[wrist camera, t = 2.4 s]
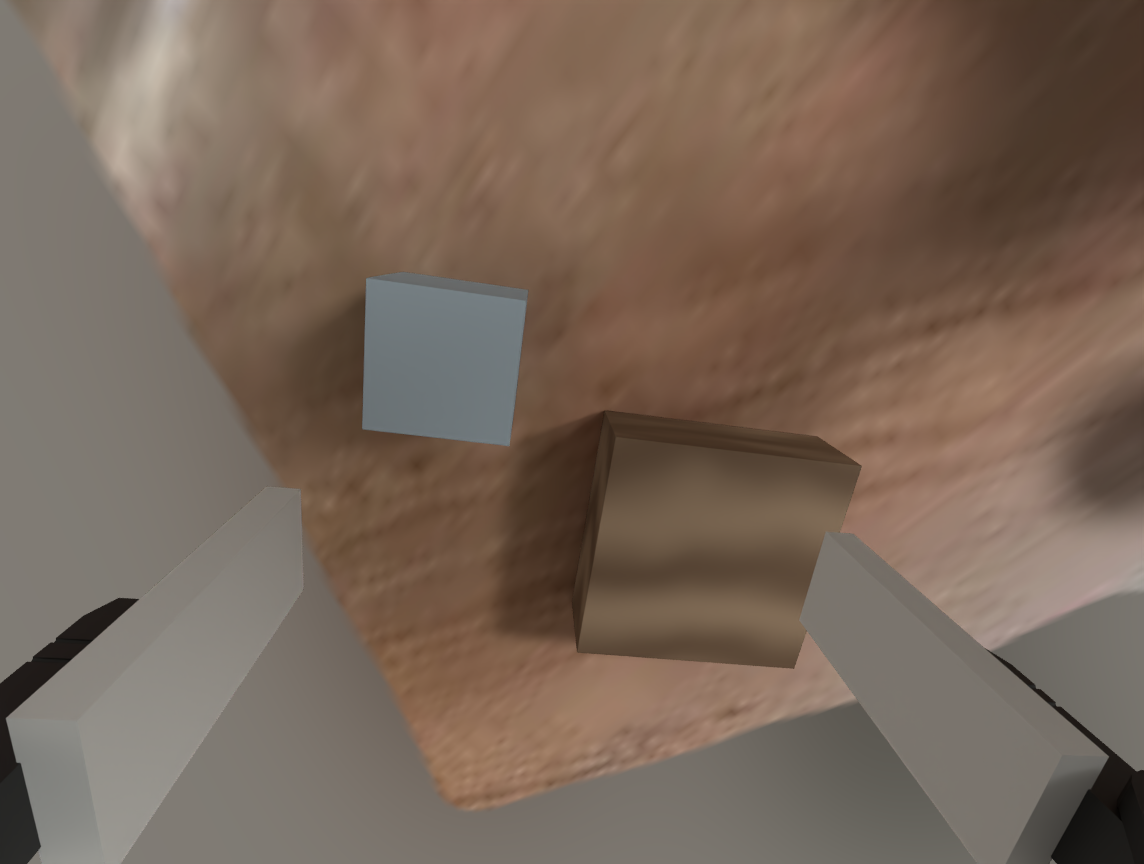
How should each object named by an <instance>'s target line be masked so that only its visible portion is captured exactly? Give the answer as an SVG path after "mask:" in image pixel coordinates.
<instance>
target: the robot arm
mask: <svg viewBox="0 0 1144 864" xmlns="http://www.w3.org/2000/svg"><path fill="white" fill-rule="evenodd" d="M303 590H304V583H303V548H302V513H301V489H295V488H282V487H270V486H266V487H265V488H264V489H263V490H262V491H261V492H259V493H258V494H257V495H256V496H255V497H254V498H253V499H252V500H250V501H249V502H248V503H247V504H246V505H245V506H244V507H243V508H241V509H240V510H239V511H238V512H237V513H236V514H235V515H234V516H232V517H231V518H230V519H229V520H228V521H227V522H226V523H225V524H223V525H222V526H221V527H220V528H219V529H218V530H217V531H216V532H214V533H213V534H212V535H211V536H210V537H209V538H208V539H207V540H205V541H204V542H203V543H202V544H201V545H200V546H199V547H198V548H197V549H195V550H194V551H193V552H192V553H191V554H190V555H189V556H188V557H187V558H185V560H183V561H182V562H181V563H180V564H179V565H177V566H176V567H175V568H174V569H173V570H172V571H171V572H170V573H169V574H167V575H166V576H165V577H164V578H163V579H162V580H161V581H159V582H158V583H157V584H156V585H155V586H154V587H153V588H152V589H151V590H149V591H148V592H147V593H146V594H145V595H144V596H143V597H141V598H140V599H128V598H118V599H116V600H114V601H112V602H110V603H108V604H106V605H104V606H102V607H100V608H98V609H96V610H94V611H92V612H90V613H88V614H86V615H84V616H83V617H81V618H80V619H79V620H78V621H76V622H75V623H74V624H73V625H71V626H70V627H69V628H68V629H67V630H65V631H64V632H63V633H62V634H60V635H59V636H58V637H57V638H56V641H55V642H54V643H50V644H48V645H47V646H46V647H45V648H43V649H42V650H41V651H40V652H38V653H37V654H36V655H35V656H33V660H32V661H31V662H26V663H25V664H24V665H22V666H21V667H20V668H19V669H17V670H16V671H15V672H14V673H13V674H11V675H10V676H9V677H8V678H6V679H5V680H4V681H3V682H2V683H0V864H27V863H28V862H29V861H30V860H31V858H32V857H33V856H34V855H35V854H36V852H37V851H39V856H40V860H41V863H42V864H121V862H122V860H123V859H124V857H125V856H126V854H127V853H128V852H129V850H130V848H131V847H132V846H133V844H134V843H135V841H136V840H137V838H138V837H139V835H140V834H141V832H142V831H143V829H144V828H145V826H146V824H147V823H148V822H149V820H150V818H151V817H152V816H153V814H154V813H155V811H156V810H157V808H158V807H159V805H160V804H161V802H162V801H163V799H164V798H165V796H166V795H167V793H168V792H169V790H170V789H171V787H172V786H173V784H174V783H175V781H176V780H177V778H178V777H179V775H180V774H181V772H182V771H183V769H184V768H185V766H186V765H187V763H188V762H189V760H190V759H191V757H192V756H193V754H194V753H195V751H196V750H197V748H198V747H199V745H200V744H201V742H202V741H203V739H204V738H205V736H206V735H207V734H208V732H209V731H210V729H211V727H212V726H213V724H214V723H215V721H216V720H217V718H218V717H219V716H220V714H221V713H222V711H223V709H224V708H225V707H226V705H227V704H228V702H229V701H230V699H231V698H232V696H233V695H234V693H235V692H236V690H237V689H238V687H239V686H240V684H241V683H242V681H243V680H244V678H245V677H246V675H247V674H248V672H249V671H250V669H251V668H252V666H253V665H254V663H255V662H256V660H257V659H258V657H259V656H260V654H261V653H262V651H263V650H264V648H265V647H266V645H267V644H268V642H269V641H270V639H271V638H272V636H273V635H274V633H275V632H276V630H277V629H278V627H279V626H280V624H281V623H282V621H283V620H284V618H285V617H286V615H287V614H288V612H289V611H290V609H291V608H292V606H293V605H294V603H295V602H296V600H297V599H298V597H299V596H300V594H301V593H302V591H303ZM799 621H800V622H801V623H802V625H803V626H804V628H805V629H806V630H807V632H808V633H809V634H810V636H811V637H812V638H813V640H814V641H815V643H816V644H817V645H818V647H819V648H820V649H821V651H822V652H823V653H824V655H825V656H826V658H827V659H828V660H829V662H830V663H831V664H832V666H833V667H834V668H835V670H836V671H837V673H838V674H839V675H840V677H841V678H842V679H843V681H844V682H845V684H846V685H847V686H848V688H849V689H850V690H851V692H852V693H853V694H854V696H855V697H856V699H857V700H858V701H859V703H860V704H861V705H862V707H863V708H864V709H865V711H866V712H867V714H868V715H869V716H870V718H871V719H872V720H873V722H874V723H875V725H876V726H877V727H878V729H879V730H880V731H881V733H882V734H883V735H884V737H885V738H886V740H887V741H888V742H889V743H890V745H891V746H892V748H893V749H894V750H895V752H896V753H897V755H898V756H899V757H900V759H901V760H902V761H903V763H904V764H905V766H906V767H907V768H908V770H909V771H910V772H911V774H912V775H913V776H914V778H915V779H916V781H917V782H918V783H919V784H920V786H921V787H922V789H923V790H924V791H925V793H926V794H927V795H928V797H929V798H930V799H931V801H932V802H933V804H934V805H935V806H936V808H937V809H938V811H939V812H940V813H941V815H942V816H943V817H944V819H945V820H946V821H947V823H948V824H949V826H950V827H951V828H952V830H953V831H954V832H955V834H956V835H957V837H959V839H960V841H961V842H962V843H963V845H964V846H965V847H966V849H967V850H968V851H969V853H970V854H971V855H972V857H973V858H974V860H975V861H976V863H977V864H1049V863H1050V861H1051V860H1052V859H1053V860H1054V861H1055V862H1056V863H1057V864H1144V770H1140V771H1138V772H1136V771H1135V770H1134V769H1133V768H1132V767H1131V766H1129V765H1128V764H1127V763H1126V762H1125V761H1123V760H1122V759H1121V758H1120V757H1119V756H1117V754H1115V753H1114V752H1113V751H1112V750H1111V749H1109V748H1108V747H1107V746H1106V745H1105V744H1104V743H1102V742H1101V741H1100V740H1099V739H1098V738H1096V737H1095V736H1094V735H1093V734H1092V733H1091V732H1090V731H1088V730H1087V729H1086V728H1085V727H1084V726H1082V725H1081V724H1080V723H1079V722H1078V721H1077V720H1076V719H1074V718H1073V717H1072V716H1071V715H1070V714H1069V713H1067V712H1066V711H1065V710H1064V709H1063V708H1062V707H1057V706H1056V704H1055V701H1053V700H1052V699H1051V698H1050V697H1049V696H1048V695H1046V694H1045V693H1044V692H1043V691H1042V690H1041V689H1036V687H1035V685H1034V683H1032V682H1031V681H1030V680H1029V679H1028V678H1027V677H1025V676H1024V675H1023V674H1022V673H1021V672H1020V671H1018V670H1017V669H1016V668H1015V667H1014V666H1013V665H1011V664H1010V663H1008V662H1007V661H1005V660H1003V659H1001V658H1000V657H998V656H997V655H995V654H993V653H992V652H990V651H989V650H987V649H985V648H984V647H983V646H981V645H980V644H979V643H978V642H977V641H976V640H975V639H973V638H972V637H971V636H970V635H969V634H968V633H967V632H965V631H964V630H963V629H962V628H961V627H960V626H959V625H957V624H956V623H955V622H954V621H953V620H952V619H950V618H949V617H948V616H947V615H946V614H945V613H944V612H942V611H941V610H940V609H939V608H938V607H937V606H936V605H934V604H933V603H932V602H931V601H930V600H929V599H928V598H926V597H925V596H924V595H923V594H922V593H921V592H919V591H918V590H917V589H916V588H915V587H914V586H913V585H911V584H910V583H909V582H908V581H907V580H906V579H905V578H903V577H902V576H901V575H900V574H899V573H898V572H897V571H895V570H894V569H893V568H892V567H891V566H890V565H888V564H887V563H886V562H885V561H884V560H883V559H882V558H880V557H879V556H878V555H877V554H876V553H875V552H874V551H872V550H871V549H870V548H869V547H868V546H867V545H866V544H864V543H863V542H862V541H861V540H860V539H859V538H857V537H856V536H855V535H854V534H850V533H837V532H826V533H825V536H824V539H823V543H822V546H821V549H820V553H819V556H818V559H817V563H816V566H815V569H814V573H813V576H812V579H811V583H810V586H809V589H808V592H807V596H806V599H805V602H804V606H803V609H802V612H801V616H800V619H799Z"/></svg>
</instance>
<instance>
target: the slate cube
mask: <svg viewBox="0 0 1144 864" xmlns="http://www.w3.org/2000/svg"><path fill="white" fill-rule="evenodd" d="M527 297H528V290H525V289H518V288H511V287H505V286H498V285H491V284H484V283H477V282H470V281H463V280H456V279H449V278H442V277H436V276H429V275H422V274H415V273H408V272H399V273H393V274H387V275H381V276H375V277H369V278H366V307H365V345H364V383H363V420H362V429H364V430H373V431H382V432H390V433H399V434H408V435H417V436H425V437H434V438H443V439H452V440H461V441H469V442H478V443H487V444H496V445H504V446H509V445H510V438H511V430H512V423H513V416H514V408H515V400H516V391H517V383H518V374H519V366H520V357H521V348H522V340H523V331H524V323H525V314H526V306H527Z"/></svg>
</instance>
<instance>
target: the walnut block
mask: <svg viewBox="0 0 1144 864" xmlns="http://www.w3.org/2000/svg"><path fill="white" fill-rule="evenodd" d="M861 467H862V466H861V465H860V464H858V463H857V462H855V461H854V460H852V459H851V458H849V457H848V456H846V455H845V454H843V453H841V452H840V451H838V450H837V449H835V448H834V447H832V446H831V445H829V444H828V443H826V442H825V441H823V440H822V439H820V438H819V437H816V436H808V435H800V434H792V433H784V432H776V431H768V430H759V429H751V428H743V427H735V426H727V425H719V424H711V423H703V422H694V421H686V420H678V419H670V418H662V417H654V416H646V415H638V414H629V413H621V412H613V411H604V417H603V422H602V428H601V434H600V440H599V446H598V452H597V458H596V463H595V469H594V475H593V481H592V487H591V493H590V499H589V504H588V510H587V516H586V522H585V528H584V534H583V540H582V545H581V551H580V557H579V563H578V569H577V575H576V581H575V587H574V592H573V598H572V608H573V618H574V627H575V637H576V647H577V652H578V653H591V654H605V655H618V656H632V657H645V658H659V659H672V660H685V661H699V662H712V663H726V664H739V665H752V666H766V667H779V668H793V669H794V667H795V664H796V661H797V658H798V655H799V652H800V649H801V646H802V643H803V640H804V637H805V634H806V631H807V630H806V629H805V628H804V626H803V625H802V623H801V622H800V621H799V619H800V616H801V612H802V609H803V606H804V602H805V599H806V596H807V592H808V589H809V586H810V583H811V579H812V576H813V573H814V569H815V566H816V563H817V559H818V556H819V553H820V549H821V546H822V543H823V539H824V536H825V533H826V532H837V533H840V530H841V527H842V524H843V521H844V518H845V515H846V512H847V509H848V506H849V503H850V500H851V497H852V494H853V491H854V488H855V485H856V482H857V479H858V476H859V473H860V470H861Z"/></svg>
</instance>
